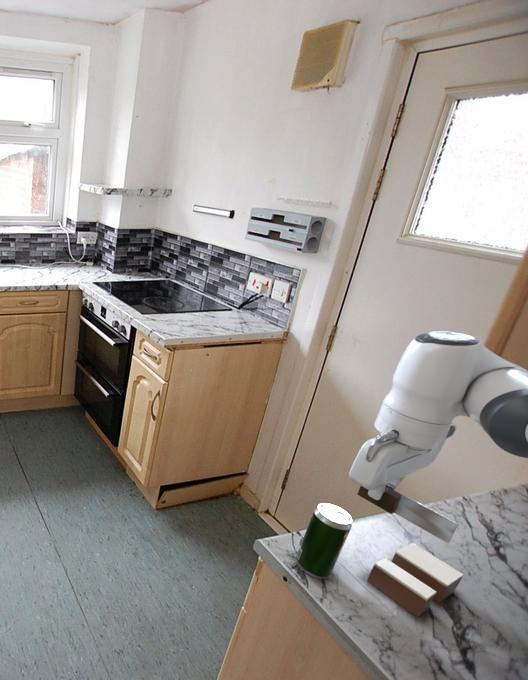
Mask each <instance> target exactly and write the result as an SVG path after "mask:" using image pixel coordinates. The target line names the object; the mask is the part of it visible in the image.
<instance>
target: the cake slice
mask: <svg viewBox="0 0 528 680" xmlns="http://www.w3.org/2000/svg"><path fill="white" fill-rule="evenodd" d="M391 561H392V560H390V559H388V558H386V557H382V558H381V559H379V560H377V561H376V562H374V564H373V567H372V568H371V570H370V573H369V574H368V577H367V579H366V581H367V582H368V583H370V584H371V585H372V586H374V587H375V588H377V590H378V591H380V592H382V593H383V594H384V595H386V596H388V597H389V598H390V599H392V600H393V601H394V602H396V603H398V604H399V605H400V606H401V607H402V608H404V609H406V610H407V611H408V612H410V613H411V614H413V615H414V616H416V617H418V618H419V616H421V615H422V614H423V613H425V612H426V611H428V609H429V606H430V605H431V603H432V601H434V600H433V598H434V596H435V594H436V591H435V590H433V589H432V588H430V587H429V586H427V585H426V584H424V583H423V582H421V581H420V580H418V579H417V578H415V577H414V576H412V575H410V574H409V573H407V572H406V571H404V570H403V569H401V568H400V567H398V566H397V565H395V564H394V563H392V562H391Z"/></svg>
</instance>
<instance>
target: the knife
mask: <svg viewBox="0 0 528 680" xmlns="http://www.w3.org/2000/svg"><path fill="white" fill-rule="evenodd" d="M385 490H386V493H385V495H384V497H383V498H381V499H379V500H375V499H373V498H372V497H370V496H369V495H368V491H369V490H368V489H366V488H364V487H362V486H360V485H359V489H358V491H357V494H356V495H357V496H359V497H361V498H362V499H364V500H366V501H368V502H369V503H371V504H373V505H374V506H376V507H378V508H380V509H382V510H383V511H385V512H387V513H389V514H390V515H393V514H396V515H397V516H400V517H401V518H402V519H404V520H406V521H408V522H409V523H411V524H412V525H415V526H417V527H418V528H420V529H422V530H423V531H425V532H427V533H429V534H431V535H432V536H434V537H436V538H437V539H440V540H441V541H443V542H444V543H446V544H449V543H450V542H451V540H452V538H453V536H454V534H455V532H456V530H457V528H458V526H459V523H458V522H457V521H455V520H452V519H451V518H448V516H445V515H443V514H442V513H439V512H437V511H436V510H434V509H432V508H430V507H428V506H426V505H425V504H423V503H421V502H419V501H417V500H415V499H413V498H411V497H409V496H407V495H406V494H402V493H400V492H398V491H395V490H393V489H391V488H389V487H387V486H385Z"/></svg>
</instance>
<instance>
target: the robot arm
mask: <svg viewBox="0 0 528 680" xmlns="http://www.w3.org/2000/svg"><path fill="white" fill-rule="evenodd" d="M391 379H392V380H391V381H392V384H391V385H392V386H391V388H390V390H389V392H388V393H387V394H386V395H385V397H384V398H383V400H382V403H381V405H380V408H379V411H378V413H377V416H376V418H375V420H374V424H373V426H374V428H375V429H376V430H377V432H379V434H378V435H377V436H376V437H373V438H370V439H368V440H366V441H365V442H364V443H363V444H362V445H361V448H360V449H359V451H358V453H357V455H356V457H355V459H354V461H353V463H352V465H351V467H350V470H349V473H348V477H349V479H350V480H351V481H352V482H353V483H355V484H357V485H359V487H360V486H362V487H364V488H366V489H368V490H369V491H368V495H369V496H370V497H372V498H373V499H375V500H379V499H381V498H383V497H384V495H385V493H386V490H385V486H387V487H389V488H391V489H393V490H395V491H396V490H397V488H398V486H399V485H400V484H401V483H402V482H403V481H404V480H405V478H406V476H409V475H411V474H413V473H415V472H417V471H420V470H423V469H425V468H428V467H429V466H430V465H432V464H433V462H434V461H435V460H436V459H437V457H438V455H439V454H440V452H441V451H442V449H443V447H444V445H445V443H446V442H447V440H448V438H450V437H452V436H454V435H455V432H456V431H457V428H458V426H457V424H455V423H453V421H454V419H455V418H456V417H460V416H461V417H462V416H463V417H467V418H470V419H472V420H473V421H474V422H475V423H476V424H477V425H478V426H479V427H481V428H482V429H483V431H484V432H485V433H486V434H487V435H488V437H489V438H490V439H491V440H492V442H493V443H494V444H495V445H497V447H499V448H500V449H501V450H503V451H504V452H506V453H508V454H510V455H513V456H516V457H519V458H524V459H528V370H527V369H525V368H524V367H522V366H520V365H519V364H516V363H513V362H511V361H508V360H506V359H504V358H503V357H502V356H500V355H498V354H496V353H494V352H493V351H491V350H490V349H489V348H487V347H486V346H485V345H483V343H482V342H481V341H480V339H478V338H476V337H474V336H472V335H469V334H465V333H459V332H454V331H442V330H441V331H438V330H437V331H427V332H424V333H421V334H419V335H417V336H415V337H414V338H413V339H411V342H410V343H408V345H407V347H406V348H405V350H404V352H403V354H402V355H401V357H400V360H399V362H398V364H397V366H396V369H395V371H394V373H393V376H392V378H391ZM396 492H397V491H396Z"/></svg>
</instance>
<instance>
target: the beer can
mask: <svg viewBox="0 0 528 680" xmlns="http://www.w3.org/2000/svg"><path fill="white" fill-rule="evenodd" d="M352 522H353V519H352V516H351V515H350V514H349V513H348V512H347V511H346V510H344V509H343V508H341V507H339V506H337V505H334V504H331V503H326V502H322V503H319V504H318V505H317V507H316V508H315V509H314V510H313V513H312V515H311V518H310V521H309V523H308V526H307V528H306V531H305V534H304V535H303V538H302V541H301V542H300V543H301V544H300V545H299V548H298V551H297V553H296V563H297V566H298V567H299V568H300V570H301V571H303V572H304V573H305V574H306V575H308V576H310V577H312V578H315V579H319V580H324V579H326V578H328V577H330V576H331V575H332V573H333V571H334V569H335V567H336V564H337V561H338V559H339V557H340V555H341V552H342V551H343V548H344V545H345V543H346V541H347V538H348V537H349V534H350V532H351V530H352V527H353V524H352Z"/></svg>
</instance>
